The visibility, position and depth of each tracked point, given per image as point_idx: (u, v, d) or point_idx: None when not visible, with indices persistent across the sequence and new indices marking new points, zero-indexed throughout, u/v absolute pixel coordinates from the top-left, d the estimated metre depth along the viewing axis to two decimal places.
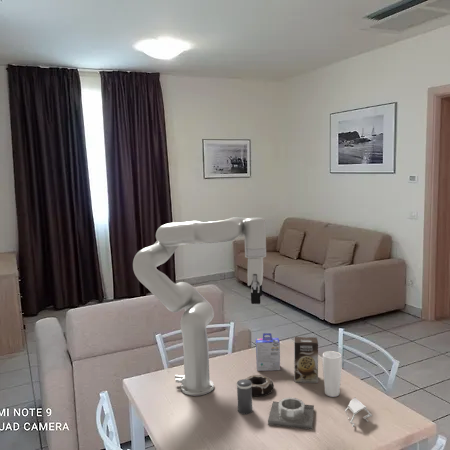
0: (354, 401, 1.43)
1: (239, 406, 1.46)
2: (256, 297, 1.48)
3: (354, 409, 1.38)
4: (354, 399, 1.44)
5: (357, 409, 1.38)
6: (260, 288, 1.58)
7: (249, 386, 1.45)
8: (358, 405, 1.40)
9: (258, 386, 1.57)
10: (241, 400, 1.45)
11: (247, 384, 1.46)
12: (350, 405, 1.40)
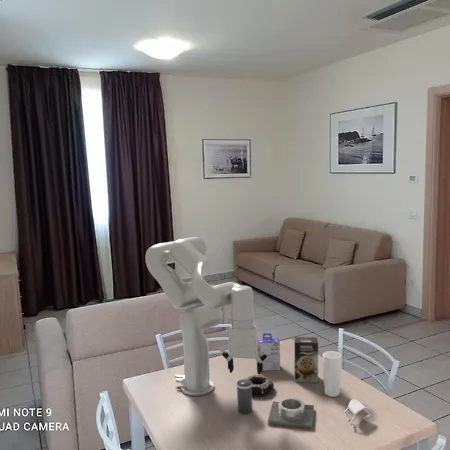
0: (354, 402, 1.42)
1: (239, 406, 1.46)
2: (262, 365, 1.45)
3: (354, 410, 1.37)
4: (354, 400, 1.44)
5: (357, 410, 1.37)
6: None
7: (249, 386, 1.45)
8: (358, 406, 1.40)
9: (258, 386, 1.57)
10: (241, 400, 1.45)
11: (247, 384, 1.46)
12: (350, 406, 1.40)
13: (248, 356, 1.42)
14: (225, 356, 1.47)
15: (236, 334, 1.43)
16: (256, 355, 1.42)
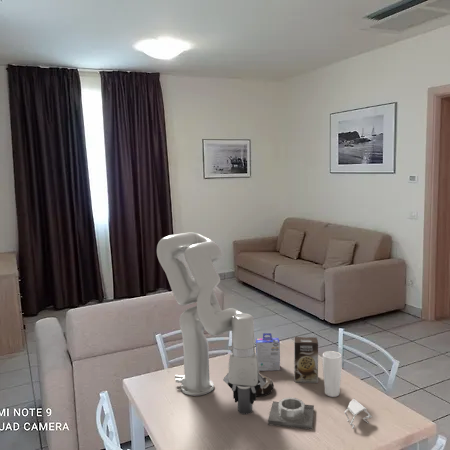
0: (353, 402, 1.42)
1: (239, 406, 1.46)
2: (255, 395, 1.47)
3: (354, 410, 1.37)
4: (353, 400, 1.43)
5: (357, 410, 1.37)
6: None
7: (249, 386, 1.45)
8: (358, 406, 1.39)
9: None
10: (241, 400, 1.45)
11: None
12: (350, 406, 1.39)
13: (248, 384, 1.44)
14: (231, 386, 1.48)
15: (236, 362, 1.44)
16: (256, 383, 1.43)
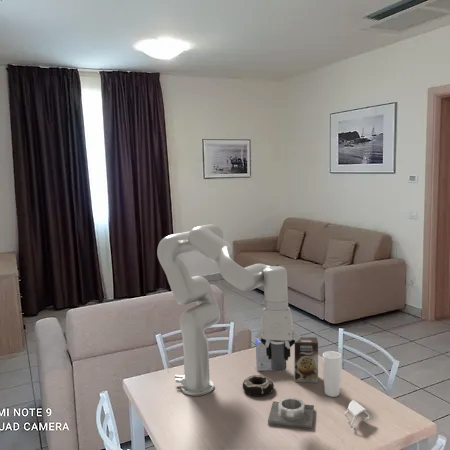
0: (353, 403, 1.41)
1: (273, 363, 1.41)
2: None
3: (354, 412, 1.36)
4: (353, 401, 1.43)
5: (357, 412, 1.36)
6: None
7: (283, 341, 1.40)
8: (358, 407, 1.39)
9: (258, 386, 1.57)
10: (275, 356, 1.40)
11: None
12: (349, 408, 1.39)
13: (282, 338, 1.38)
14: (263, 342, 1.42)
15: (270, 316, 1.39)
16: (290, 337, 1.38)
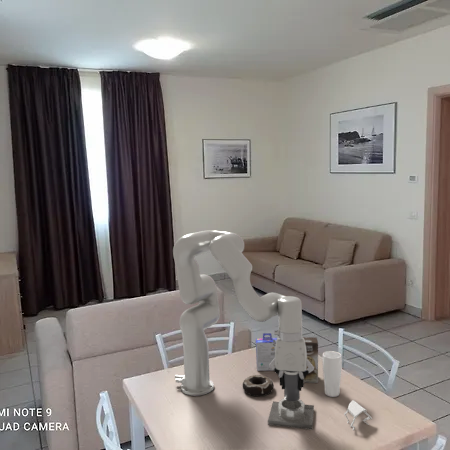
0: (353, 404, 1.41)
1: (286, 393, 1.41)
2: (303, 381, 1.41)
3: (354, 412, 1.36)
4: (353, 402, 1.42)
5: (357, 412, 1.36)
6: None
7: (297, 372, 1.40)
8: (358, 408, 1.38)
9: (258, 386, 1.57)
10: (289, 386, 1.40)
11: None
12: (349, 408, 1.38)
13: (296, 369, 1.38)
14: (277, 372, 1.42)
15: (284, 346, 1.38)
16: (304, 368, 1.38)
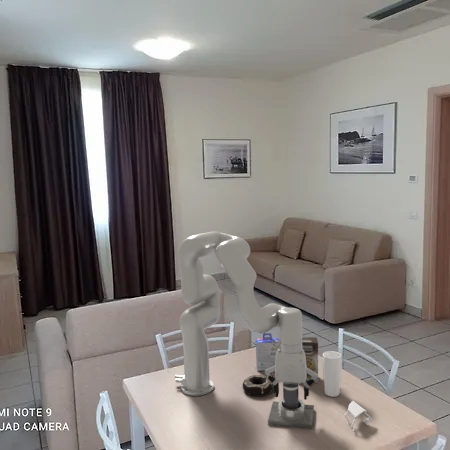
0: (353, 405, 1.41)
1: None
2: (308, 390, 1.41)
3: (354, 413, 1.36)
4: (353, 403, 1.42)
5: (357, 413, 1.36)
6: (278, 385, 1.44)
7: (296, 387, 1.40)
8: (358, 409, 1.38)
9: (258, 386, 1.57)
10: (288, 401, 1.40)
11: (294, 385, 1.41)
12: (350, 409, 1.38)
13: (296, 381, 1.39)
14: (271, 380, 1.43)
15: (284, 358, 1.39)
16: (304, 380, 1.38)
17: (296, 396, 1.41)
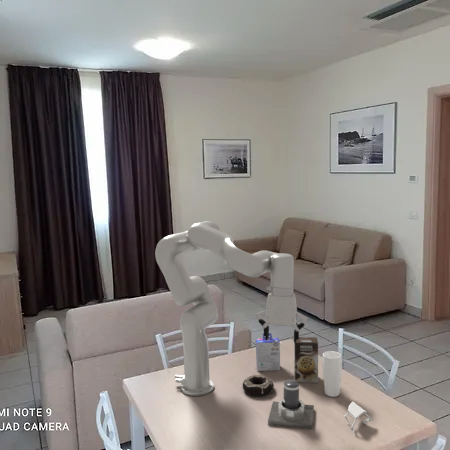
0: (353, 405, 1.40)
1: None
2: (298, 334, 1.45)
3: (354, 414, 1.35)
4: (352, 403, 1.41)
5: (357, 414, 1.35)
6: (268, 329, 1.48)
7: (297, 387, 1.40)
8: (358, 409, 1.38)
9: (258, 386, 1.57)
10: (289, 401, 1.40)
11: (295, 385, 1.41)
12: (350, 410, 1.37)
13: (285, 324, 1.42)
14: (261, 323, 1.46)
15: (275, 301, 1.42)
16: (294, 323, 1.42)
17: (297, 396, 1.41)
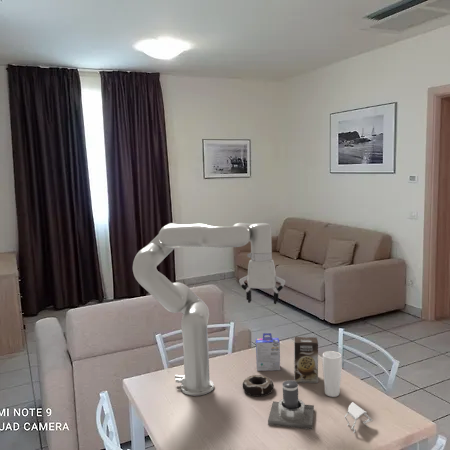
0: (353, 406, 1.40)
1: None
2: None
3: (355, 415, 1.35)
4: (352, 404, 1.41)
5: (357, 415, 1.35)
6: None
7: (296, 387, 1.40)
8: (358, 410, 1.37)
9: (258, 386, 1.57)
10: (288, 402, 1.40)
11: (294, 385, 1.41)
12: (350, 411, 1.37)
13: (266, 286, 1.56)
14: (244, 287, 1.60)
15: (255, 266, 1.56)
16: (273, 285, 1.56)
17: (296, 396, 1.41)
